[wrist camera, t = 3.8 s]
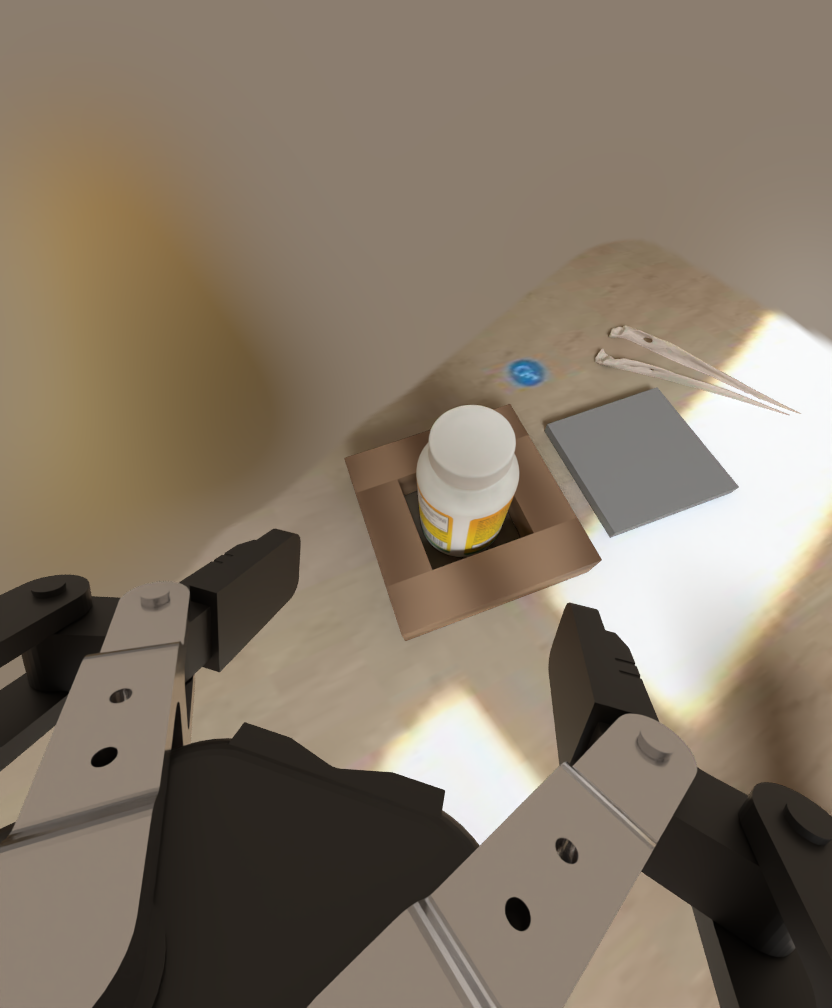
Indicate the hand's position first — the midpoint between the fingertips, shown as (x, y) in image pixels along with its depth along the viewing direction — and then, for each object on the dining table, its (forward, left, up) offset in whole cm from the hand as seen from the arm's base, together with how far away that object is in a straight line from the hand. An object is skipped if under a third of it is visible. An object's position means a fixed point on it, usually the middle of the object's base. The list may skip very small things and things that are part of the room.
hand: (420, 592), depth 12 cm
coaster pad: (-18, -7, -13) cm, 23 cm away
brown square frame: (-5, -7, -13) cm, 15 cm away
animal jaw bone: (-27, -10, -14) cm, 32 cm away
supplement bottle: (-5, -7, -13) cm, 16 cm away
